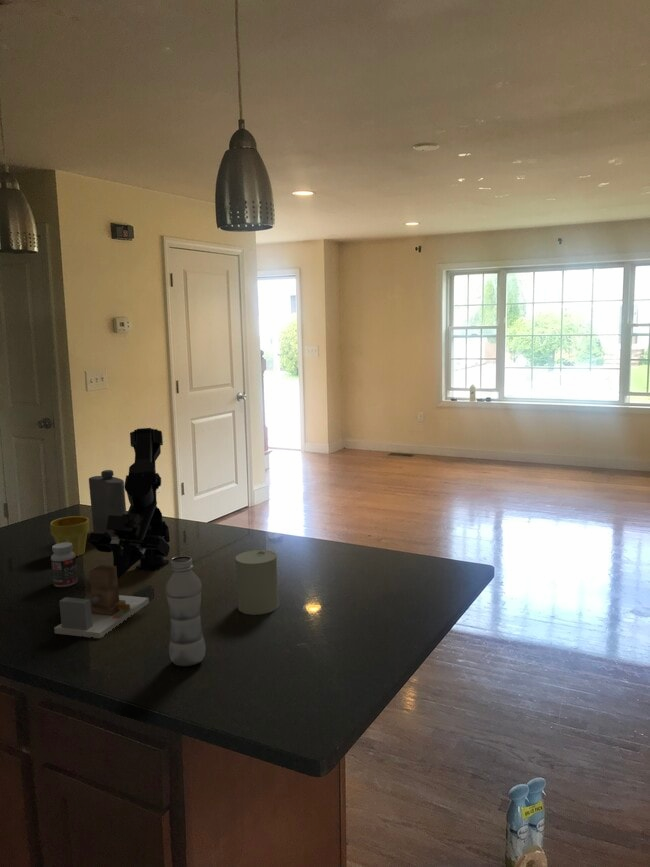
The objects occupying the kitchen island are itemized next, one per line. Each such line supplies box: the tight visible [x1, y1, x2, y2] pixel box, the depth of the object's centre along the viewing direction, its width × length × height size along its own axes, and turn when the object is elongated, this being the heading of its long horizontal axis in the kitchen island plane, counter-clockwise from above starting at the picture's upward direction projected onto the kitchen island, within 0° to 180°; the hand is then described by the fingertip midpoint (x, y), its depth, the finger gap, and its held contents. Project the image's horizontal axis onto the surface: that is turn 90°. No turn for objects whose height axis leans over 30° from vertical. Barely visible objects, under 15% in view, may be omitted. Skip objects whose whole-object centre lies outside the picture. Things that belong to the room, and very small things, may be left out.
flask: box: [88, 469, 127, 537], centre depth 208 cm, size 15×6×20 cm, turn 49°
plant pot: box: [49, 515, 90, 558], centre depth 191 cm, size 10×10×10 cm
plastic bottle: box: [164, 555, 207, 667], centre depth 125 cm, size 6×7×20 cm
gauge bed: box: [53, 594, 150, 639], centre depth 147 cm, size 18×11×7 cm, turn 163°
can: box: [234, 549, 280, 616], centre depth 150 cm, size 9×9×12 cm
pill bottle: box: [50, 542, 78, 588], centre depth 168 cm, size 6×6×10 cm
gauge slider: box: [89, 564, 130, 615], centre depth 147 cm, size 7×9×9 cm
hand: (115, 578), depth 152 cm, fingers closed
